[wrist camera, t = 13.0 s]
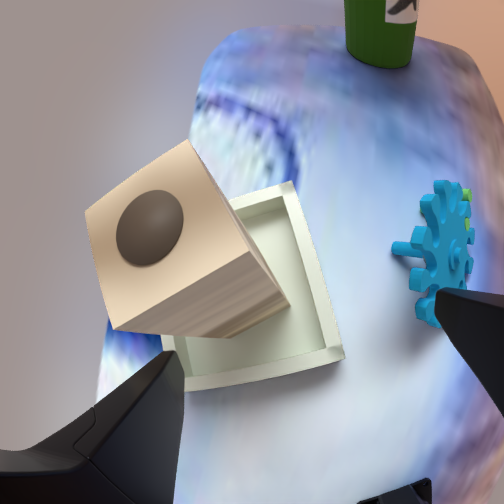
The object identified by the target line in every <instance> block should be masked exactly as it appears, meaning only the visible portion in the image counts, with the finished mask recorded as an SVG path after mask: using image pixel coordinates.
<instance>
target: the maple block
mask: <svg viewBox="0 0 504 504" xmlns="http://www.w3.org/2000/svg"><path fill="white" fill-rule="evenodd" d="M85 216H86V222H87V227H88V233H89V238H90V243H91V248H92V253H93V258H94V262H95V266H96V270H97V275H98V278H99V283H100V286H101V290H102V294H103V297H104V301H105V304H106V308H107V311H108V314H109V318H110V321H111V324H112V327H113V330H121V331H129V332H138V333H148V334H159V335H172V336H186V337H203V338H227V339H231V338H233V337H234V336H236V335H238V334H240V333H242V332H244V331H246V330H248V329H250V328H251V327H253V326H255V325H257V324H259V323H261V322H263V321H264V320H266V319H268V318H270V317H272V316H274V315H275V314H277V313H279V312H281V311H282V310H284V309H286V308H288V307H290V306H291V305H290V303H289V301H288V299H287V298H286V296H285V294H284V292H283V291H282V289H281V287H280V285H279V283H278V282H277V280H276V278H275V276H274V275H273V273H272V271H271V269H270V268H269V266H268V264H267V262H266V261H265V259H264V257H263V255H262V254H261V252H260V250H259V248H258V247H257V245H256V244H255V242H254V240H253V239H252V237H251V236H250V234H249V233H248V231H247V230H246V228H245V226H244V225H243V223H242V222H241V220H240V219H239V217H238V216H237V214H236V212H235V211H234V209H233V208H232V206H231V205H230V203H229V202H228V200H227V199H226V197H225V195H224V194H223V192H222V191H221V189H220V188H219V186H218V185H217V183H216V182H215V180H214V178H213V177H212V175H211V174H210V172H209V171H208V169H207V168H206V166H205V165H204V163H203V162H202V160H201V158H200V157H199V155H198V154H197V152H196V151H195V149H194V148H193V146H192V145H191V143H190V142H189V140H188V139H187V140H185V141H184V142H182V143H180V144H179V145H177V146H176V147H174V148H172V149H171V150H169V151H168V152H166V153H164V154H163V155H161V156H160V157H158V158H157V159H156V160H154V161H152V162H151V163H149V164H148V165H146V166H145V167H143V168H142V169H141V170H139V171H138V172H136V173H135V174H133V175H132V176H131V177H129V178H128V179H126V180H125V181H124V182H122V183H121V184H120V185H118V186H117V187H115V188H114V189H113V190H112V191H110V192H109V193H108V194H106V195H105V196H104V197H102V198H101V199H100V200H99V201H98V202H96V203H95V204H93V205H92V206H91V207H90V208H89V209H87V210H86V211H85Z"/></svg>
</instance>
